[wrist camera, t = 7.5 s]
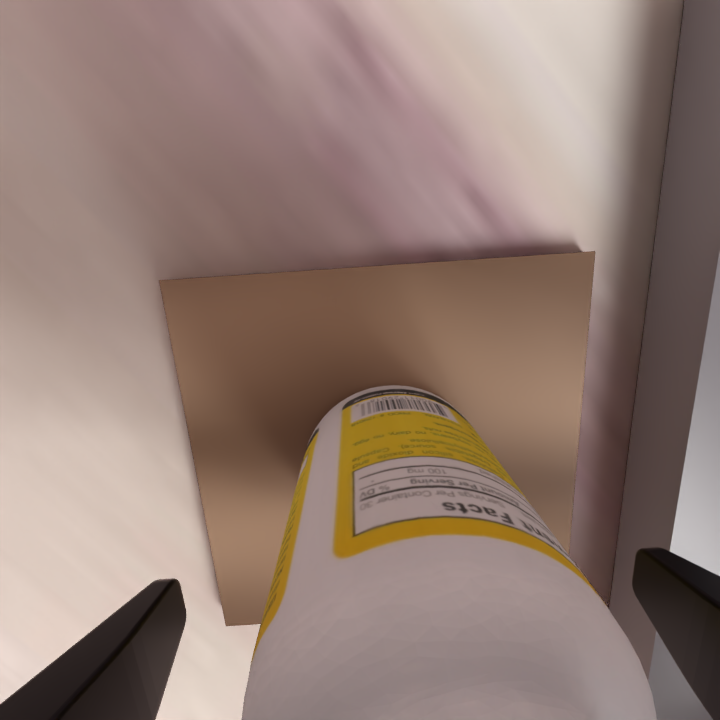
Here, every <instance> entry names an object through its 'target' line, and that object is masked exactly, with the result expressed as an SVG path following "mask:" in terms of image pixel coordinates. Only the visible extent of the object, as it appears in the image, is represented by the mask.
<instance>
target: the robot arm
mask: <svg viewBox="0 0 720 720" xmlns="http://www.w3.org/2000/svg"><path fill="white" fill-rule="evenodd" d="M632 588H633V591H634V594H635V596H636V598H637V600H638V601H639V603H640V605H641V606H642V608H643V610H644V611H645V613H646V615H647V616H648V618H649V620H650V621H651V623H652V625H653V626H654V628H655V630H656V631H657V633H658V635H659V636H660V638H661V640H662V641H663V643H664V645H665V646H666V648H667V650H668V651H669V653H670V655H671V656H672V658H673V660H674V661H675V663H676V665H677V666H678V668H679V670H680V671H681V673H682V675H683V676H684V678H685V679H686V681H687V682H688V684H689V686H690V687H691V689H692V690H693V692H694V693H695V695H696V696H697V698H698V699H699V701H700V702H701V703H702V705H703V706H704V708H705V709H706V711H707V712H708V714H709V715H710V716H711V718H712V719H713V720H720V576H718V575H716V574H714V573H712V572H710V571H708V570H706V569H704V568H702V567H700V566H698V565H696V564H694V563H692V562H690V561H688V560H686V559H684V558H682V557H680V556H678V555H676V554H674V553H672V552H670V551H668V550H666V549H664V548H660V547H651V548H640V549H638V551H637V552H636V554H635V561H634V568H633V575H632ZM185 622H186V608H185V604H184V599H183V595H182V590H181V586H180V583H179V581H178V580H177V579H159V580H156V581H154V582H152V583H151V584H150V585H148V586H147V587H146V588H145V589H143V590H142V591H141V592H140V593H138V594H137V595H136V596H135V597H133V598H132V599H131V600H130V601H128V602H127V603H126V604H125V605H123V606H122V607H121V608H120V609H118V610H117V611H116V612H115V613H113V614H112V615H111V616H110V617H108V618H107V619H106V620H105V621H103V622H102V623H101V624H100V625H98V626H97V627H96V628H95V629H93V630H92V631H91V632H90V633H88V634H87V635H86V636H85V637H83V638H82V639H81V640H80V641H78V642H77V643H76V644H75V645H73V646H72V647H71V648H70V649H68V650H67V651H66V652H65V653H64V654H62V655H61V656H60V657H59V658H57V659H56V660H55V661H54V662H52V663H51V664H50V665H49V666H47V667H46V668H45V669H44V670H42V671H41V672H40V673H39V674H37V675H36V676H35V677H34V678H32V679H31V680H30V681H29V682H27V683H26V684H25V685H24V686H22V687H21V688H20V689H19V690H17V691H16V692H15V693H14V694H12V695H11V696H10V697H9V698H7V699H6V700H5V701H4V702H2V703H1V704H0V720H155V719H156V716H157V713H158V710H159V707H160V704H161V701H162V697H163V694H164V691H165V688H166V685H167V681H168V678H169V675H170V672H171V668H172V665H173V662H174V659H175V656H176V652H177V649H178V646H179V643H180V639H181V636H182V633H183V630H184V626H185Z"/></svg>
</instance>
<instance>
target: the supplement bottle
mask: <svg viewBox="0 0 720 720" xmlns="http://www.w3.org/2000/svg"><path fill="white" fill-rule="evenodd" d="M242 720H657V718H656V711H655V706H654V701H653V695H652V692H651V689H650V686H649V683H648V680H647V677H646V675H645V672H644V670H643V667H642V665H641V662H640V659H639V658H638V656H637V654H636V652H635V650H634V648H633V647H632V645H631V643H630V641H629V639H628V638H627V636H626V635H625V633H624V632H623V630H622V629H621V627H620V626H619V624H618V623H617V621H616V620H615V618H614V617H613V615H612V614H611V612H610V610H609V609H608V607H607V606H606V604H605V603H604V601H603V600H602V599H601V597H600V596H599V595H598V593H597V592H596V590H595V589H594V588H593V587H592V585H591V584H590V583H589V581H588V580H587V578H586V577H585V575H584V574H583V573H582V571H581V570H580V569H579V568H578V566H577V565H576V564H575V563H574V561H573V560H572V559H571V557H570V556H569V555H568V553H567V552H566V551H565V549H564V548H563V547H562V545H561V544H560V543H559V541H558V540H557V539H556V537H555V536H554V535H553V533H552V532H551V531H550V529H549V528H548V527H547V525H546V524H545V523H544V521H543V520H542V519H541V517H540V516H539V515H538V513H537V512H536V511H535V509H534V508H533V507H532V505H531V504H530V503H529V501H528V500H527V499H526V497H525V496H524V495H523V493H522V492H521V491H520V489H519V488H518V487H517V485H516V484H515V483H514V481H513V480H512V479H511V477H510V476H509V475H508V473H507V472H506V471H505V469H504V468H503V467H502V465H501V464H500V463H499V461H498V460H497V459H496V457H495V456H494V455H493V453H492V452H491V451H490V449H489V448H488V447H487V445H486V444H485V443H484V441H483V440H482V439H481V437H480V436H479V435H478V433H477V432H476V431H475V429H474V428H473V427H472V426H471V424H470V423H469V422H468V421H467V420H466V419H465V418H464V416H463V415H462V414H461V413H460V412H459V411H458V410H456V409H455V408H454V407H453V406H452V405H451V404H449V403H448V402H447V401H445V400H444V399H442V398H441V397H439V396H437V395H435V394H433V393H431V392H428V391H425V390H422V389H418V388H414V387H410V386H400V385H389V386H379V387H374V388H369V389H366V390H363V391H361V392H358V393H355V394H353V395H352V396H350V397H348V398H346V399H344V400H343V401H341V402H340V403H338V404H337V405H336V406H334V407H333V408H332V409H331V410H330V411H329V412H328V413H327V414H326V415H325V416H324V417H323V418H322V420H321V421H320V422H319V424H318V425H317V427H316V428H315V430H314V432H313V434H312V436H311V438H310V440H309V443H308V446H307V449H306V452H305V455H304V458H303V462H302V465H301V469H300V473H299V477H298V481H297V485H296V489H295V493H294V497H293V501H292V505H291V509H290V513H289V517H288V521H287V524H286V528H285V532H284V536H283V540H282V544H281V548H280V552H279V556H278V560H277V564H276V568H275V572H274V576H273V580H272V584H271V587H270V591H269V595H268V599H267V603H266V606H265V610H264V614H263V618H262V623H261V626H260V630H259V633H258V637H257V641H256V645H255V649H254V653H253V657H252V661H251V666H250V672H249V678H248V683H247V688H246V692H245V697H244V705H243V713H242Z"/></svg>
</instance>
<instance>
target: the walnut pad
mask: <svg viewBox="0 0 720 720" xmlns="http://www.w3.org/2000/svg"><path fill="white" fill-rule="evenodd" d="M594 261H595V251H592V252H577V253H562V254H547V255H532V256H517V257H502V258H487V259H472V260H457V261H442V262H427V263H412V264H397V265H382V266H367V267H353V268H338V269H323V270H308V271H293V272H278V273H263V274H248V275H233V276H218V277H203V278H188V279H173V280H159V283H160V288H161V293H162V298H163V304H164V309H165V314H166V319H167V324H168V329H169V335H170V340H171V345H172V350H173V355H174V360H175V366H176V371H177V376H178V381H179V386H180V391H181V397H182V402H183V407H184V412H185V417H186V422H187V428H188V433H189V438H190V443H191V448H192V453H193V459H194V464H195V469H196V474H197V479H198V484H199V490H200V495H201V500H202V505H203V510H204V515H205V521H206V526H207V531H208V536H209V541H210V547H211V552H212V557H213V562H214V567H215V572H216V578H217V583H218V588H219V593H220V598H221V603H222V609H223V614H224V619H225V624H226V626H236V625H252V624H261V623H262V618H263V614H264V610H265V606H266V603H267V599H268V595H269V591H270V587H271V584H272V580H273V576H274V572H275V568H276V564H277V560H278V556H279V552H280V548H281V544H282V540H283V536H284V532H285V528H286V524H287V521H288V517H289V513H290V509H291V505H292V501H293V497H294V493H295V489H296V485H297V481H298V477H299V473H300V469H301V465H302V462H303V458H304V455H305V452H306V449H307V446H308V443H309V440H310V438H311V436H312V434H313V432H314V430H315V428H316V427H317V425H318V424H319V422H320V421H321V420H322V418H323V417H324V416H325V415H326V414H327V413H328V412H329V411H330V410H331V409H332V408H333V407H334V406H336V405H337V404H338V403H340V402H341V401H343V400H344V399H346V398H348V397H350V396H352V395H353V394H355V393H358V392H361V391H363V390H366V389H369V388H374V387H379V386H389V385H400V386H410V387H414V388H418V389H422V390H425V391H428V392H431V393H433V394H435V395H437V396H439V397H441V398H442V399H444V400H445V401H447V402H448V403H449V404H451V405H452V406H453V407H454V408H455V409H456V410H458V411H459V412H460V413H461V414H462V415H463V416H464V418H465V419H466V420H467V421H468V422H469V423H470V424H471V426H472V427H473V428H474V429H475V431H476V432H477V433H478V435H479V436H480V437H481V439H482V440H483V441H484V443H485V444H486V445H487V447H488V448H489V449H490V451H491V452H492V453H493V455H494V456H495V457H496V459H497V460H498V461H499V463H500V464H501V465H502V467H503V468H504V469H505V471H506V472H507V473H508V475H509V476H510V477H511V479H512V480H513V481H514V483H515V484H516V485H517V487H518V488H519V489H520V491H521V492H522V493H523V495H524V496H525V497H526V499H527V500H528V501H529V503H530V504H531V505H532V507H533V508H534V509H535V511H536V512H537V513H538V515H539V516H540V517H541V519H542V520H543V521H544V523H545V524H546V525H547V527H548V528H549V529H550V531H551V532H552V533H553V535H554V536H555V537H556V539H557V540H558V541H559V543H560V544H561V545H562V547H563V548H564V549H565V551H566V552H567V553H568V555H569V547H570V536H571V524H572V513H573V501H574V490H575V478H576V467H577V456H578V444H579V433H580V421H581V410H582V398H583V387H584V375H585V364H586V352H587V341H588V330H589V318H590V307H591V295H592V284H593V272H594Z"/></svg>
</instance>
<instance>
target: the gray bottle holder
mask: <svg viewBox="0 0 720 720" xmlns="http://www.w3.org/2000/svg"><path fill="white" fill-rule="evenodd" d="M651 547H660V548H664V549H666V550H668V551H670V552H672V553H674V554H676V555H678V556H680V557H682V558H684V559H686V560H688V561H690V562H692V563H694V564H696V565H698V566H700V567H702V568H704V569H706V570H708V571H710V572H712V573H714V574H716V575H718V576H720V0H685V1H684V9H683V18H682V26H681V34H680V42H679V50H678V58H677V66H676V74H675V82H674V90H673V98H672V106H671V114H670V122H669V130H668V138H667V146H666V154H665V162H664V170H663V179H662V187H661V195H660V203H659V211H658V219H657V227H656V235H655V243H654V251H653V259H652V267H651V275H650V283H649V291H648V299H647V307H646V315H645V323H644V331H643V339H642V348H641V356H640V364H639V372H638V380H637V388H636V396H635V404H634V412H633V420H632V428H631V436H630V444H629V452H628V460H627V468H626V476H625V484H624V492H623V500H622V509H621V517H620V525H619V533H618V541H617V549H616V557H615V565H614V573H613V581H612V589H611V597H610V605H609V610H610V612H611V614H612V615H613V617H614V618H615V620H616V621H617V623H618V624H619V626H620V627H621V629H622V630H623V632H624V633H625V635H626V636H627V638H628V639H629V641H630V643H631V645H632V647H633V648H634V650H635V652H636V654H637V656H638V658H639V659H640V662H641V665H642V667H643V670H644V672H645V675H646V677H647V680H648V683H649V686H650V689H651V692H652V695H653V701H654V706H655V711H656V718H657V720H713V719H712V718H711V716H710V715H709V714H708V712H707V711H706V709H705V708H704V706H703V705H702V703H701V702H700V701H699V699H698V698H697V696H696V695H695V693H694V692H693V690H692V689H691V687H690V686H689V684H688V682H687V681H686V679H685V678H684V676H683V675H682V673H681V671H680V670H679V668H678V666H677V665H676V663H675V661H674V660H673V658H672V656H671V655H670V653H669V651H668V650H667V648H666V646H665V645H664V643H663V641H662V640H661V638H660V636H659V635H658V633H657V631H656V630H655V628H654V626H653V625H652V623H651V621H650V620H649V618H648V616H647V615H646V613H645V611H644V610H643V608H642V606H641V605H640V603H639V601H638V600H637V598H636V596H635V594H634V591H633V588H632V575H633V568H634V561H635V554H636V552H637V551H638V549H640V548H651Z"/></svg>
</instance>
